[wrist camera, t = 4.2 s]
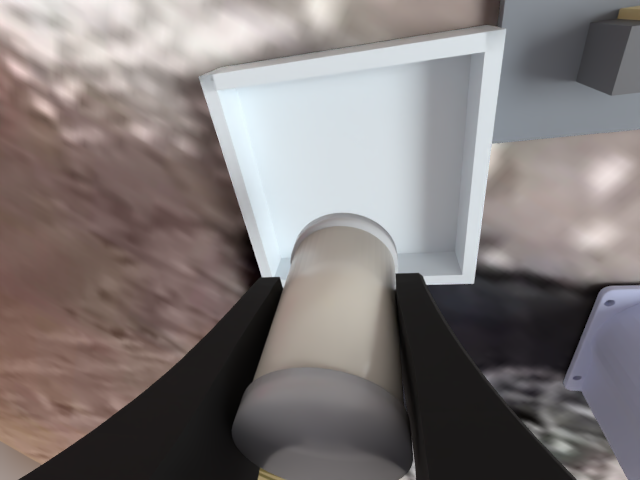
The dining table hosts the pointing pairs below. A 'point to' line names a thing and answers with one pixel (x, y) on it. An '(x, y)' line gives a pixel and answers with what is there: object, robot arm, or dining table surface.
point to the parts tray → (365, 144)
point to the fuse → (331, 362)
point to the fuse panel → (568, 68)
